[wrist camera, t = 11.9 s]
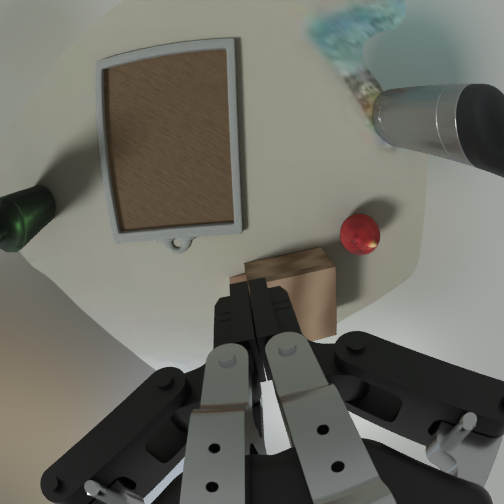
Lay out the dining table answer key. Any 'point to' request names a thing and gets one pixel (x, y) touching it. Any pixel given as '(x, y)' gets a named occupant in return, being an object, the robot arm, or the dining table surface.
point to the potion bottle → (24, 216)
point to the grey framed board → (170, 142)
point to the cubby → (303, 288)
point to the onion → (359, 234)
